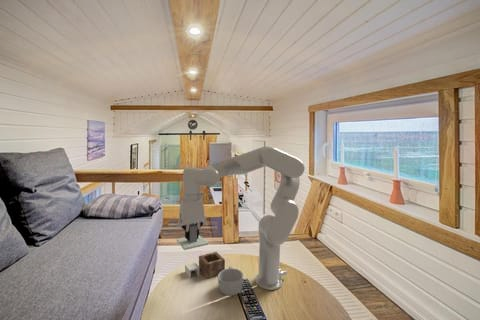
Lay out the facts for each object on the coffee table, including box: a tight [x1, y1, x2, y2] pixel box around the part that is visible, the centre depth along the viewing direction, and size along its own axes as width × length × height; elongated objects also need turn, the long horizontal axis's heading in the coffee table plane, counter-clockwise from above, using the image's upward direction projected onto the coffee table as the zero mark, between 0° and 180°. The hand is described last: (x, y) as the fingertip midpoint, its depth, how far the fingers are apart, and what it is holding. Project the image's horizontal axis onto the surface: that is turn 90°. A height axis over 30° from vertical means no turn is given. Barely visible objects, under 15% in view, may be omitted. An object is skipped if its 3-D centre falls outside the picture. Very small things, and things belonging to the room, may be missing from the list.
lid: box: [176, 223, 209, 251], centre depth 106 cm, size 10×10×8 cm
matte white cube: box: [184, 261, 200, 279], centre depth 120 cm, size 5×6×5 cm
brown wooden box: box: [198, 251, 226, 280], centre depth 122 cm, size 10×10×8 cm
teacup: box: [217, 266, 244, 297], centre depth 109 cm, size 14×11×8 cm
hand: (192, 238), depth 106 cm, fingers closed on lid, 3 cm apart
